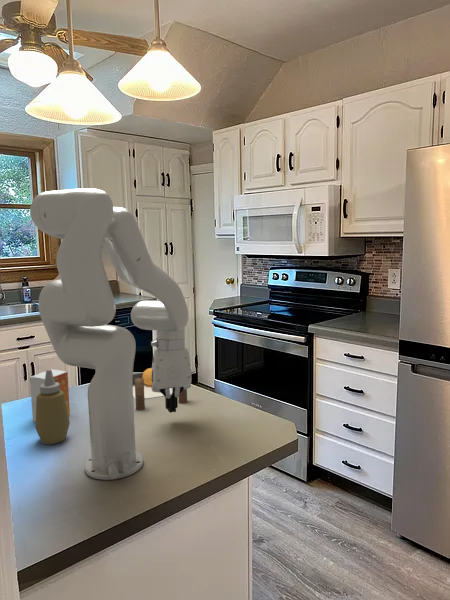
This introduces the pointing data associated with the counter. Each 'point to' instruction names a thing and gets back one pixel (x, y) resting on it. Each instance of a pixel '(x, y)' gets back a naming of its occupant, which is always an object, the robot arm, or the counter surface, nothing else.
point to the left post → (139, 394)
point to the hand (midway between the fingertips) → (171, 410)
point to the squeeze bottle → (51, 412)
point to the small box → (40, 379)
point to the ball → (147, 377)
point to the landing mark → (150, 392)
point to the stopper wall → (137, 376)
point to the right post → (183, 396)
